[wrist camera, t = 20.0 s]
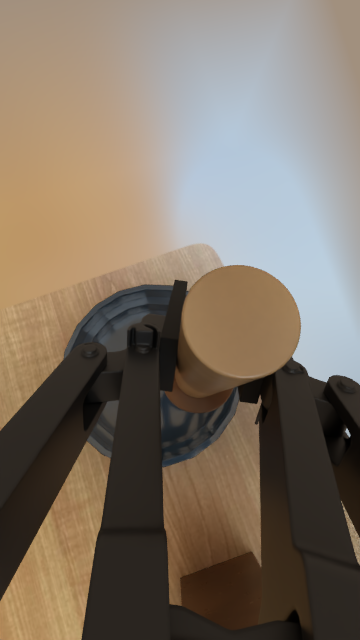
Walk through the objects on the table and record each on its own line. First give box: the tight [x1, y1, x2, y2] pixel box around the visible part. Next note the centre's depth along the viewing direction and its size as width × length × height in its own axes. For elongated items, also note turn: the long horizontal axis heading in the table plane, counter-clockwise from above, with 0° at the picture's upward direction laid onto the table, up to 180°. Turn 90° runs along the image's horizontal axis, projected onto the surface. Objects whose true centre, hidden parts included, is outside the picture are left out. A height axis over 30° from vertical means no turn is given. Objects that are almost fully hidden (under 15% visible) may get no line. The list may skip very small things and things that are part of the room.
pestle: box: [165, 265, 301, 413], centre depth 14 cm, size 5×5×15 cm
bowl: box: [64, 285, 239, 467], centre depth 34 cm, size 19×19×6 cm
